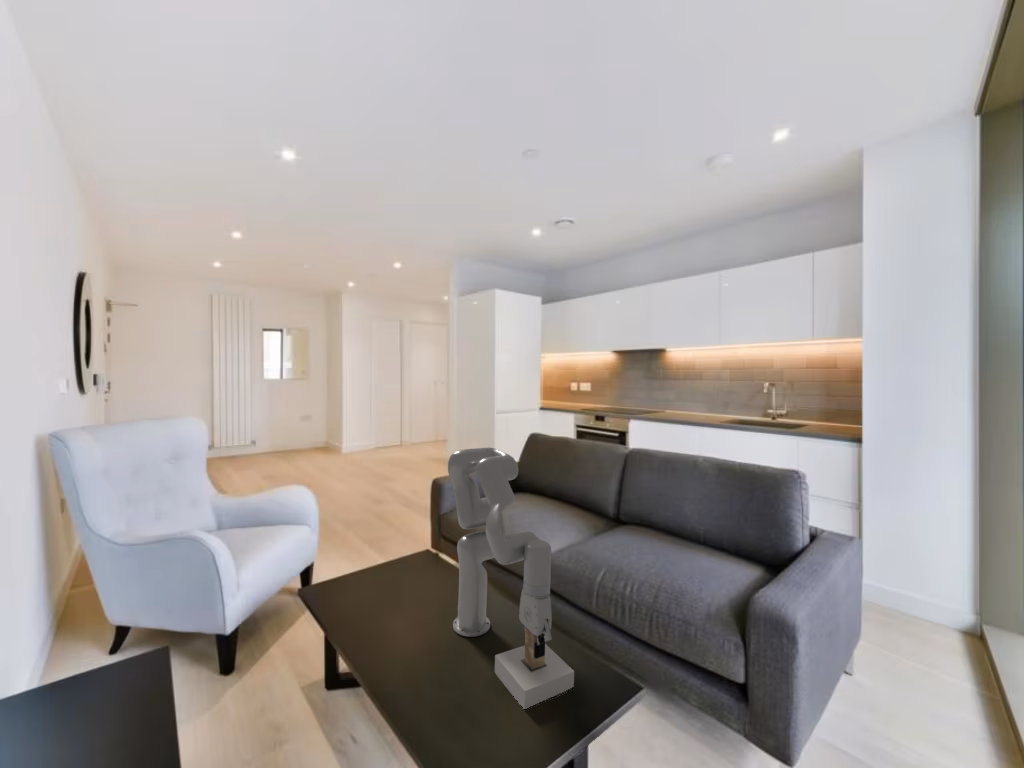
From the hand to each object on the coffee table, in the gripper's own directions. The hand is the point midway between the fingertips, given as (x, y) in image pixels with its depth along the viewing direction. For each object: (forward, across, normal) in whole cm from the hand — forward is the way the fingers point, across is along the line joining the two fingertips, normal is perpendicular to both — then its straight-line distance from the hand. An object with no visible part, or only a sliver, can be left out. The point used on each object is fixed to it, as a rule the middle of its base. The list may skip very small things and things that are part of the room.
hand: (534, 651), depth 121 cm
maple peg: (+3, 0, 0) cm, 3 cm away
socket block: (+8, 0, 0) cm, 8 cm away
